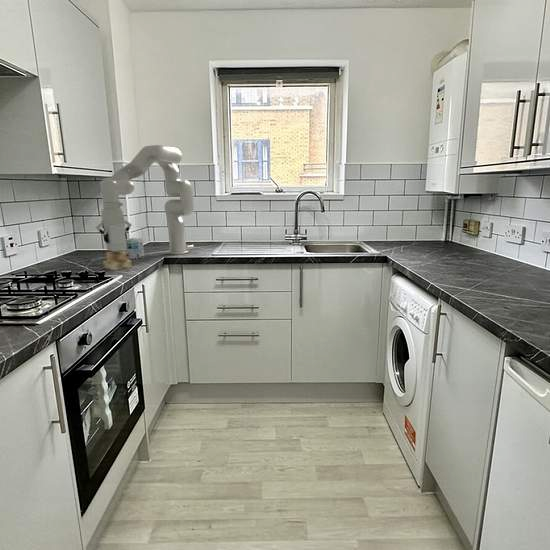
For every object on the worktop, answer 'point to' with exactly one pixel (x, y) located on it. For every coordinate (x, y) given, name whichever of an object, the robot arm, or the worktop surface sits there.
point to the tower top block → (116, 256)
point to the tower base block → (117, 265)
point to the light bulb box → (134, 248)
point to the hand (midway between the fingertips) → (115, 241)
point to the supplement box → (116, 238)
